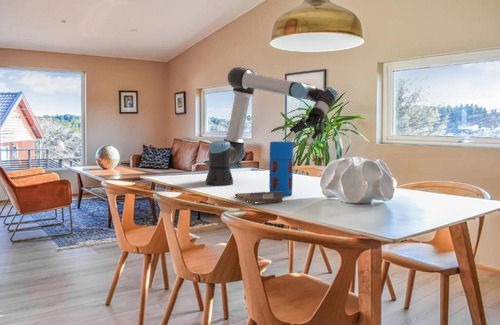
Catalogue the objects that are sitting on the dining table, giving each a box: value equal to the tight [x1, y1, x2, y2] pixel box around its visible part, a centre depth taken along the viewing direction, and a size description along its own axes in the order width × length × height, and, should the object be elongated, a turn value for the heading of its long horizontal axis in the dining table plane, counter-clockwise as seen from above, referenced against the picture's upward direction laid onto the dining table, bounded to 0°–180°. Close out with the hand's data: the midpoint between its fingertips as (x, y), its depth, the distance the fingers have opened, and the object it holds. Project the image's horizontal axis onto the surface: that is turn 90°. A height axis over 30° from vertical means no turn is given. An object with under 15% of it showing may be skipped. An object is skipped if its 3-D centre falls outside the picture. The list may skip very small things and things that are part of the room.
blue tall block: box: [268, 141, 294, 197], centre depth 207 cm, size 11×11×25 cm
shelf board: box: [234, 191, 284, 204], centre depth 195 cm, size 19×15×4 cm
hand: (297, 142), depth 213 cm, fingers open, 13 cm apart
